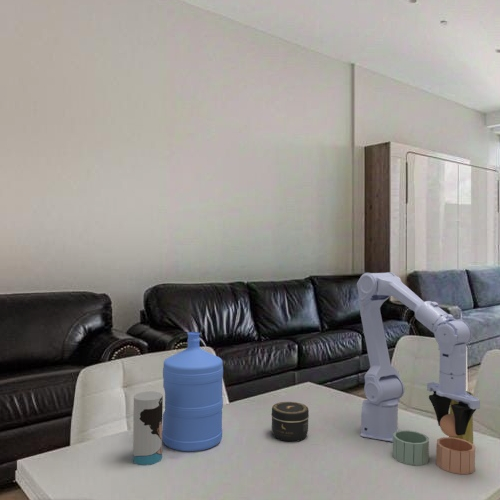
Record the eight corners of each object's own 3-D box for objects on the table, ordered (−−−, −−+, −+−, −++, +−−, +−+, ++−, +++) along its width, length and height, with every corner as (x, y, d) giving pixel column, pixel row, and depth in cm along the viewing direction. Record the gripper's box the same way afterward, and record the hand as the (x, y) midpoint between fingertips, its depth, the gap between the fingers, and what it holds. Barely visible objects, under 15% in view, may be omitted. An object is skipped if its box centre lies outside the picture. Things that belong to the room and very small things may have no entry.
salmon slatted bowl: (435, 469, 110) (436, 447, 110) (437, 455, 118) (437, 435, 118) (474, 476, 107) (475, 454, 107) (474, 461, 114) (474, 441, 114)
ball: (438, 437, 111) (439, 416, 111) (440, 430, 115) (440, 409, 115) (462, 441, 109) (462, 420, 109) (462, 434, 113) (463, 413, 113)
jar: (265, 439, 126) (266, 410, 126) (278, 425, 135) (278, 399, 135) (302, 445, 122) (303, 416, 122) (312, 431, 132) (313, 404, 131)
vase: (476, 454, 118) (477, 397, 118) (450, 452, 119) (451, 395, 119) (470, 444, 124) (471, 390, 124) (445, 442, 125) (446, 388, 125)
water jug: (234, 439, 125) (236, 333, 125) (187, 458, 114) (189, 341, 113) (196, 423, 136) (197, 325, 136) (149, 439, 125) (151, 332, 124)
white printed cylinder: (165, 461, 112) (166, 398, 112) (136, 467, 109) (137, 402, 109) (157, 450, 118) (158, 390, 118) (130, 455, 115) (130, 393, 115)
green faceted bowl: (390, 460, 114) (391, 440, 114) (395, 447, 122) (395, 428, 122) (427, 467, 111) (427, 446, 111) (429, 453, 118) (429, 433, 118)
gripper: (417, 365, 117) (416, 421, 117) (463, 382, 104) (461, 444, 104) (440, 363, 120) (439, 417, 120) (487, 379, 106) (486, 440, 106)
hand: (451, 429), depth 112 cm, fingers closed on ball, 5 cm apart
